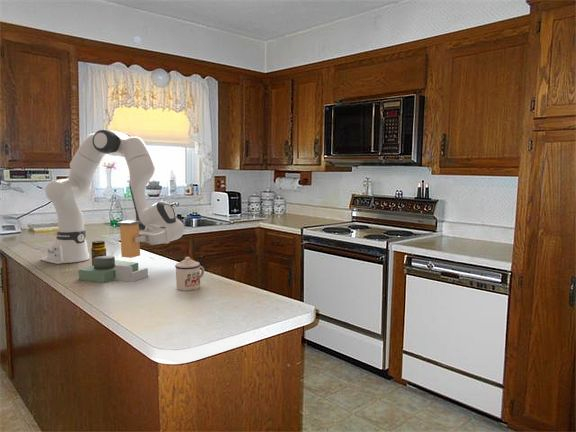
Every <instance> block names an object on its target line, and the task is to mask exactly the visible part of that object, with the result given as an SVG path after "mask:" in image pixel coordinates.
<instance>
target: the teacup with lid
mask: <svg viewBox="0 0 576 432" xmlns="http://www.w3.org/2000/svg"><path fill="white" fill-rule="evenodd" d="M174 267H175V277H176V278H175V280H176V281H175V282H176V284H175V285H176V289H177V290H179V291H183V292H188V291H189V292H191V291H196V290H198V289H200V288H201V279H202V278H203V276H204V274H205V268H204V267H203V266H202V265H201V264H200V262H199V261H196V260H193V259H192V258H191V257H190V256H185V257H184V259H182V260H181V261H179V262H177V263H176V264H175V266H174ZM200 271H201V272H200Z"/></svg>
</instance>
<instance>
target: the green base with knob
mask: <svg viewBox="0 0 576 432" xmlns="http://www.w3.org/2000/svg"><path fill="white" fill-rule="evenodd" d="M93 261H94V266H92V265H91V266H86V267H82V268H79V269H78V271H77V272H78V280H79V281H80V280H82V281H86V282H87V281H88V282H96V283H101V282H102V284H105V282H106V283H109V282H112V281H121V280H123V281H124V282H129V281H130V282H131V283H133V281H134V282H136V280H137V281H139V279H140V280H143V279H145V278H148V277H149V268H148V267H145V268H142V269H140V268H139V262H133V261H126V260H125V261H124V260H117V259H116V258H115V256H113V255H106V256H99V257H95V258H93ZM142 278H143V279H142ZM111 280H112V281H111ZM108 281H109V282H108ZM123 281H122V282H123Z"/></svg>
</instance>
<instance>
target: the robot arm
mask: <svg viewBox="0 0 576 432" xmlns="http://www.w3.org/2000/svg"><path fill="white" fill-rule="evenodd" d="M106 155H109V156H113V157H123V158H124V160H125V162H126V164H127V168H128V173H129V181H128V184H129V185H128V186H129V191H130V194H131V200H132V202H133V203H132V204H133V206H134V212H135V221H141V224H139V237H134V238H133V242H140V243H148V245H149V246H155V245H161V244H163V245H166V244H170V242H172V241H176V240H178V239H180V238H181V237H182V236H183V235H184V233H185V225H184V223H183V221H181V220H179V218H178V217H177V216H176V212H175V210H174V207H173V206H172V205H171V204H170V203H169V202H167V201H164V200H159V201H157V202H156V203H154V204H152V205H151V206H149V204H148V201H147V200H148V199H147V196H146V188H147V186H148V183H149V181H150V180H151V178H152V177H153V175H154V173H155V169H156V168H155V162H154V159H153V157H152V154H151V152H150V150H149V148H148V147H147V145H146V143H145V142H144V140H143V139H142V138H141V137H139V136H131V135H129V134H126V133H123V132H121V131H117V130H115V131H114V130H109V129H99V130H97V131H96V132H95V133H90V134H89V135H87V137H85V139H84V140H83V141H82V143H81V144H80V146H79V148H78V149H77V150H76V152H75V154H74V155H73V157H72V159H71V160H70V162H69V167H70V171H69V175H68V177H66V178H59V179H55V180H52V181H50V182H49V183H47V185H46V186H45V191H44V192H45V195H46V198H47V199H48V200H49V201H51V203H52V205H53V207H54V210H55V213H56V216H57V224H58V226H57V228H58V231H57V232H56V233H54V235H55V236H56V238H55V240H54V241H53V242H52V243H51V244H49V246H48V247H47V248H46V256H43V257H41V259H40V260H41V261H43V262H48V263H52V264H69V263H71V264H72V263H79V262H83V261H84V262H85V261H88V260H90V257H91V253H89V248H88V241H87V239H86V237H87V236H86V235H87V233H86V230H85V219H84V217H85V215H84V213H83V212H82V211H81V210H80V208H79V206H78V205H79V204H78V201H82V200H84V199H86V198H88V197H89V196H90V194H91V191H92V186H91V183H92V179H93V177H94V174H95V173H96V171H97V169H98V168H99V166H100V164H101V162H102V161H103V158H104V157H105V156H106Z"/></svg>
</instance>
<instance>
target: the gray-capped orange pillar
mask: <svg viewBox="0 0 576 432" xmlns="http://www.w3.org/2000/svg"><path fill="white" fill-rule="evenodd" d="M139 224H141V221H136V220H132V219H131V220H129V219H128V220H124V221H122V220H121V221H117V222H116V225H117V226H119V233H120V251H121V252H120V253H121V258H132V259H133V258H135V257H139V256H141V247H140V246H141V244H140V243H141V242H133V238H134V237H139V230H140V228H139Z"/></svg>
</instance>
